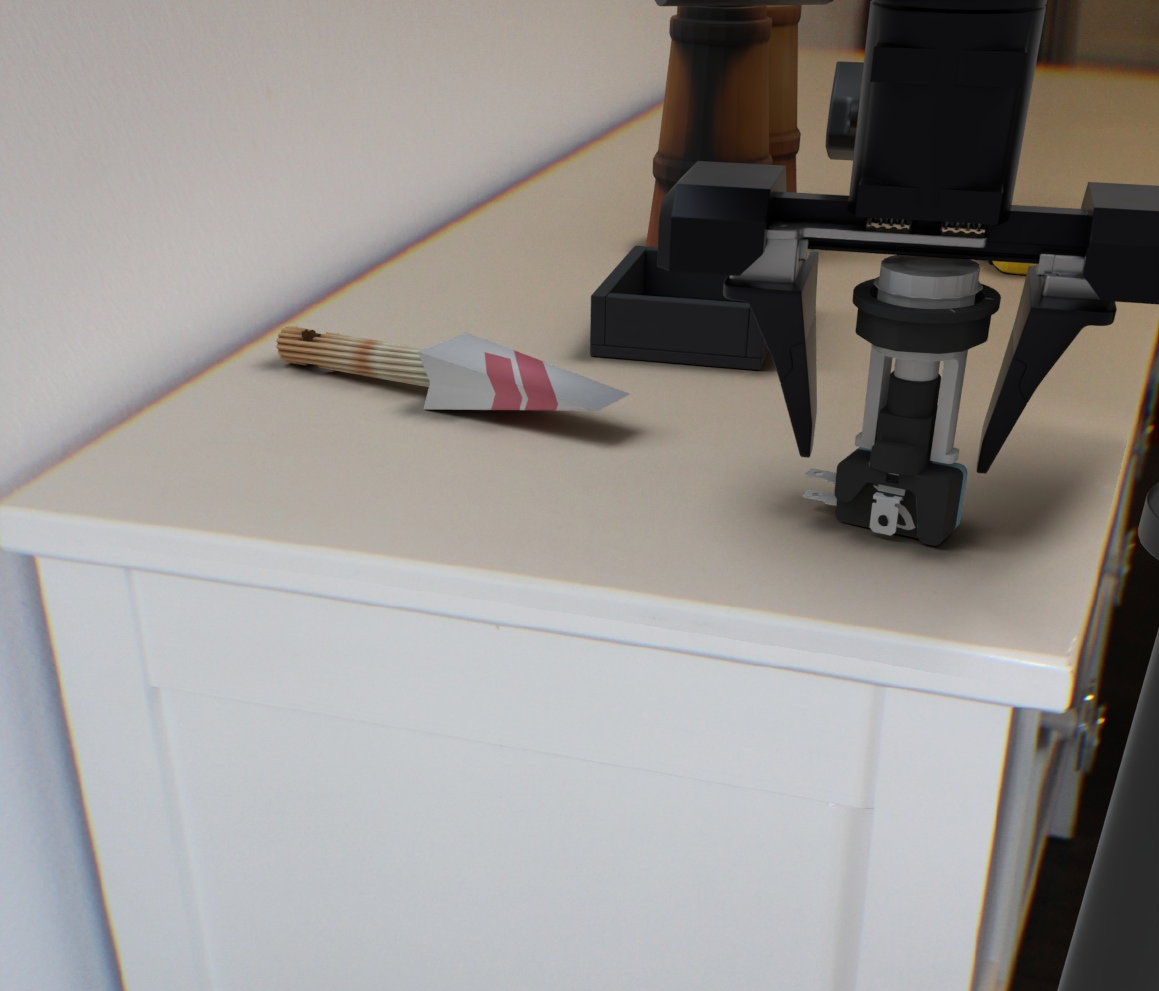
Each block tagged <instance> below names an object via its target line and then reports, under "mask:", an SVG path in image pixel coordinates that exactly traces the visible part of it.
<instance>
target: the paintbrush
mask: <svg viewBox="0 0 1159 991" xmlns="http://www.w3.org/2000/svg"><path fill="white" fill-rule="evenodd" d="M280 329H281V328H280ZM275 342H276V345H275V348H276V349H277V355H279V357H280V359H281V360H283V361H284V362H285V363H288V364H294V365H301V366H308V365H315V366H316V367H317V368H320V369H326V370H331V371H336V372H341V373H347V374H353V375H357V376H358V375H359V376H363V377H368V378H373V379H380V380H386V381H392V382H397V383H402V384H403V383H404V384H409V385H413V386H414V385H415V386H420V387H426V388H428V389H427V394H426V396H425V401H424V405H423V410H453V411H454V410H455V411H456V410H457V411H459V410H460V411H461V410H462V411H463V410H465V411H466V410H468V411H469V410H471V411H578V412H579V411H581V412H585V411H586V412H587V411H588V412H591V411H592V412H598V411H601V410H604V408H607V407H608V406H611V405H612V404H615V403H617V402H618V401H620V400H622V399H624V398H626V397H628V396H630V395H631V393H629V392H626V391H624V390H621V389H618V388H616V387H614V386H611V385H607V384H605V383H604V382H603V383H602V382H600V381H598V380H595V379H592V378H589V377H587V376H584V375H581V374H578V373H577V372H576V373H575V372H573V371H570V370H568V369H565V368H562V367H560V366H558V365H554V364H551V363H550V362H546V361H544V360H542V359H538V358H536V357H534V356H530V355H528V354H525V353H522V352H519V351H518V350H514V349H511V348H509V347H506V346H504V345H502V344H498V343H496V342H493V341H490V340H488V339H485V338H483V337H480V336H477V335H474V334H472V333H469V332H463V333H461V334H458V335H455V336H453V337H451V338H448V339H446V340H444V341H443V340H442V341H441V342H438V343H436V344H433V345H430V346H428V347H420V346H414V345H407V344H402V343H395V342H389V341H383V340H379V339H372V338H371V339H370V338H364V337H359V336H354V335H353V336H352V335H347V334H340V333H334V332H329V331H326V332H325V333H320V332H316V330H315V329H310V328H305V327H299V326H294V325H287V326H285V327H284V328H282V329H281V330H280V332H278V334H277V337H276V340H275Z"/></svg>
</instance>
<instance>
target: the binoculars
mask: <svg viewBox="0 0 1159 991" xmlns="http://www.w3.org/2000/svg"><path fill="white" fill-rule="evenodd" d="M802 7H803V5H745V6H676V14H673V15H671V17H670V18H669V29H668V30H669V32H668V33H669V37H670V39H671V41H670V47H669V48H670V49H669V57H668V65H667V73H666V81H665V90H664V96H663V105H662V114H661V122H660V128H659V129H660V131H659V138H658V147H657V150H656V152H655V154H654V156H653V158H652V175H653V177H654V179H655V180H654V187H653V194H652V200H651V208H650V213H649V220H648V228H647V235H646V241H645V246H647V247H658V228H659V216H660V210H661V204H662V199H663V198H664V196H665V195H666V194H667V193H668V192H669V191H670V190H671V189H672V188H673V187H674V185H675V184H676V183H677V182H678V181H679V180H680V179H681V178H682V177H683V176H684V175H685V174H686V173H687V172H688V171H689V170H690V169H691V168H692V167H693V166H694V165H695V164H696V163H697V162H698V161H707V162H726V163H745V164H763V165H782V166H786V192H794V193H798V190H797V189H798V187H797V186H798V184H797V179H798V178H797V155H798V154H799V151H800V146H801V136H802V132H801V130H800V129H799V127H798V95H799V94H798V92H799V90H798V87H799V84H798V82H799V79H798V78H799V77H798V75H799V73H798V72H799V23H800V20H801V18H802V10H803V8H802Z"/></svg>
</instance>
